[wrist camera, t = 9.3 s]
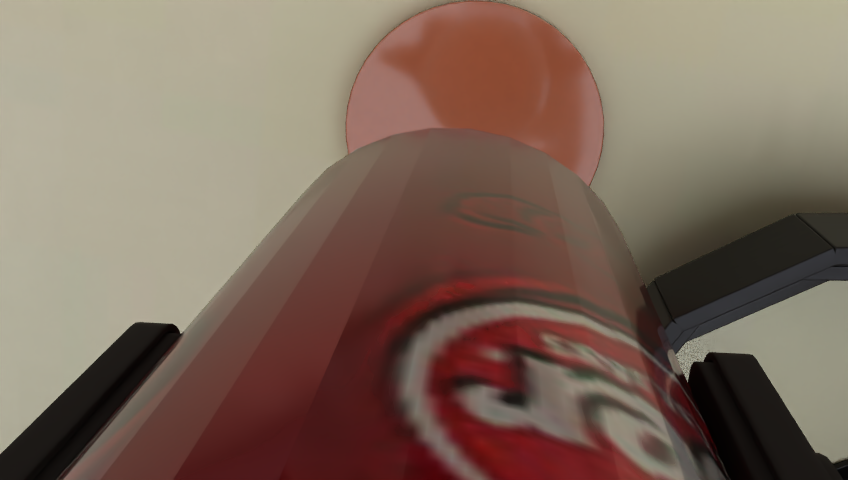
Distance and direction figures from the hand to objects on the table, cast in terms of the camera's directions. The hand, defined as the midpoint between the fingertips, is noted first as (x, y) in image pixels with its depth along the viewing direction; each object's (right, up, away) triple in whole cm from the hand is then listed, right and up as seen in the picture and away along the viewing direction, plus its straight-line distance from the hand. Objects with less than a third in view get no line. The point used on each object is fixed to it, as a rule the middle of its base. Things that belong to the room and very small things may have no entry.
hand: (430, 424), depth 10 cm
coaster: (+2, +7, +16) cm, 18 cm away
